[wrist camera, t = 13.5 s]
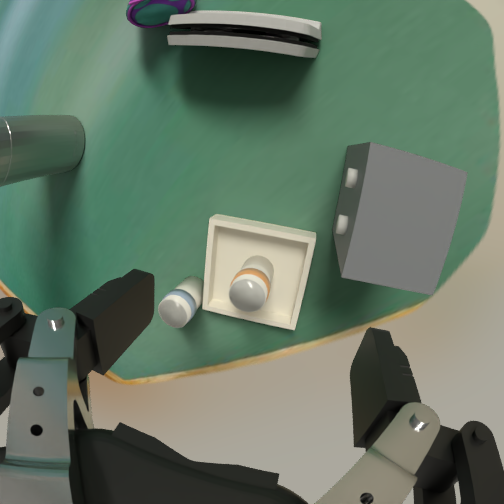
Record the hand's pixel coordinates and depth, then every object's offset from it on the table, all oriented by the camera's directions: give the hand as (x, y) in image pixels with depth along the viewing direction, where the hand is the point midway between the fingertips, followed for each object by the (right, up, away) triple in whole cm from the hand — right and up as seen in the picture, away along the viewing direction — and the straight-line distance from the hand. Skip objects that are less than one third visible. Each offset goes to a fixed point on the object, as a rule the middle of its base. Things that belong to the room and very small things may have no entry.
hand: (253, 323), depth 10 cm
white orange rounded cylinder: (+1, 0, +27) cm, 27 cm away
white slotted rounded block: (0, +28, +19) cm, 34 cm away
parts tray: (+1, 0, +28) cm, 28 cm away
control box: (+14, +9, +22) cm, 27 cm away
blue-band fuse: (-8, -3, +31) cm, 32 cm away
